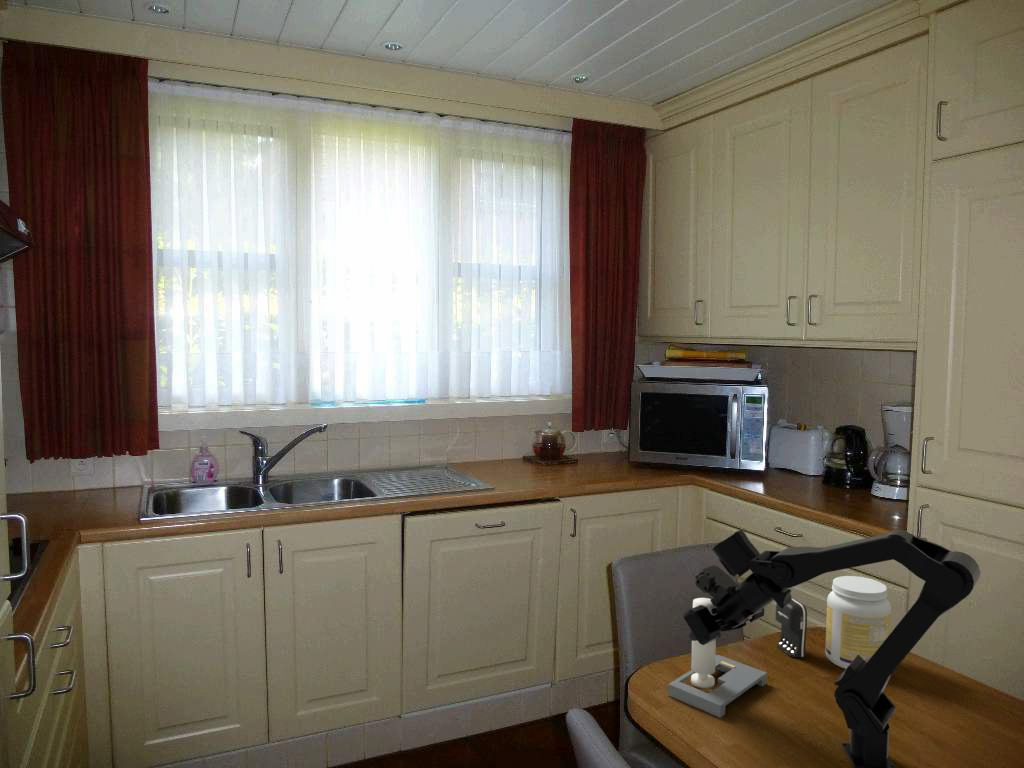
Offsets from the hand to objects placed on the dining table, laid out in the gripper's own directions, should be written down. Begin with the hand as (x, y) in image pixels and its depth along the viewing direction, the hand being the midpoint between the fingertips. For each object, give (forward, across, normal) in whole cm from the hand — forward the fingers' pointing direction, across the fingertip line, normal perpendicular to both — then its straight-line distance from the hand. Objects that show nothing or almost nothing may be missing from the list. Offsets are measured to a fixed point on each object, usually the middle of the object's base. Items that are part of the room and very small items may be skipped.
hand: (698, 634), depth 142 cm
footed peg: (+6, 0, +7) cm, 9 cm away
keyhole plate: (+6, -4, +10) cm, 12 cm away
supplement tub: (-2, -37, +18) cm, 41 cm away
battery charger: (+6, -30, +10) cm, 32 cm away
